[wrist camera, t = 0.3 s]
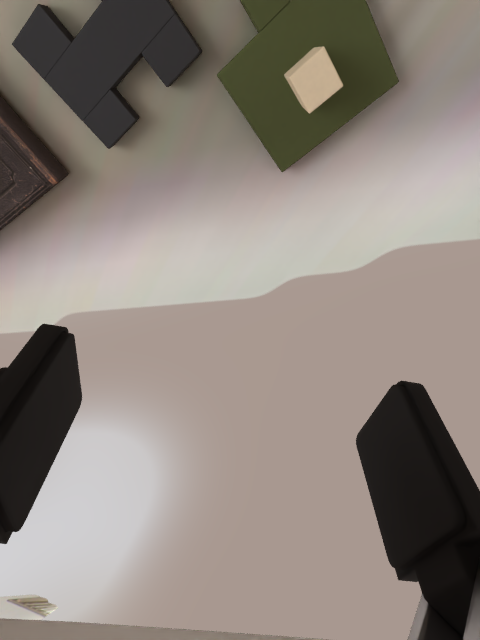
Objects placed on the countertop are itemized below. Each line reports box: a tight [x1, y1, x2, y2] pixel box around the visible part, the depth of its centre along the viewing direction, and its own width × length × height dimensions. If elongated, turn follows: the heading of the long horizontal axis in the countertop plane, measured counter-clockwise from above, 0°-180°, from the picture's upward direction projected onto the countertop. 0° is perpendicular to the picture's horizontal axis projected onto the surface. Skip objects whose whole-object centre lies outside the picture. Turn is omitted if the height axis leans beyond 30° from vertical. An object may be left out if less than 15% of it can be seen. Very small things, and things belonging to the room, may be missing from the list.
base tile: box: [12, 0, 202, 149], centre depth 29 cm, size 12×10×2 cm
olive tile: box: [217, 0, 399, 172], centre depth 27 cm, size 12×13×6 cm
